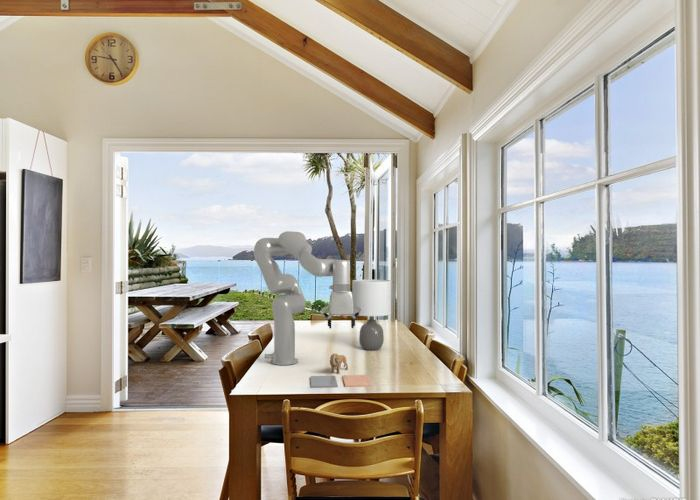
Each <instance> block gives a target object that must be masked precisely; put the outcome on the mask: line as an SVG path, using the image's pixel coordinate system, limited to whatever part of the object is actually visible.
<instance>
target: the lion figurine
mask: <svg viewBox="0 0 700 500" xmlns="http://www.w3.org/2000/svg"><path fill="white" fill-rule="evenodd" d="M342 363H343V368H344V369H345V370H347V371H348V370H349V367H348V366H349V365H348V363H347V357H346V356H345V355H344V354H341V355H340V354H338V353H337V352H336V353H335V352H334V353H331V355H330V358H329V365H330V366H331V371H330V373H331V374H335V373H334V372H335V368H336V374H337V375H339V374H341V373H340V370H341V367H342Z"/></svg>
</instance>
